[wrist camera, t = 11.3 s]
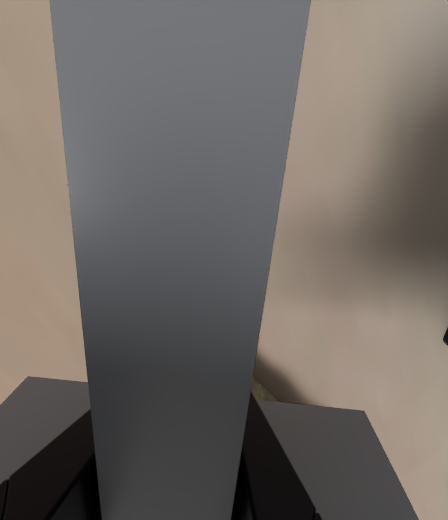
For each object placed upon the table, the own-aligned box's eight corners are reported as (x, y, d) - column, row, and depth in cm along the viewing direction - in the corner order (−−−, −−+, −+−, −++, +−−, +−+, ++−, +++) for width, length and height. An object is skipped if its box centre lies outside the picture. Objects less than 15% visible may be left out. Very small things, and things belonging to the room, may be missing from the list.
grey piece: (476, 84, 6) (929, -54, 2) (352, 443, 10) (431, 636, 6) (-38, 38, 7) (-523, -173, 2) (34, 409, 11) (-100, 577, 6)
